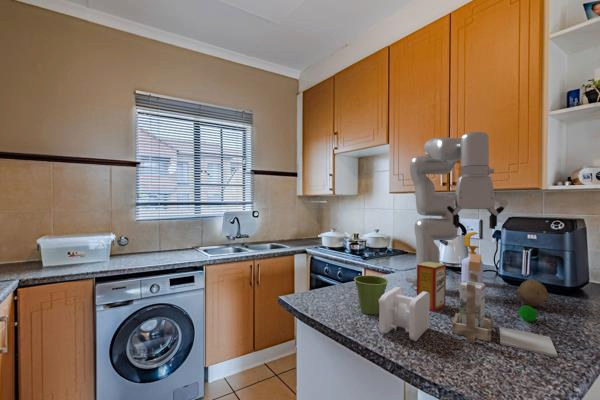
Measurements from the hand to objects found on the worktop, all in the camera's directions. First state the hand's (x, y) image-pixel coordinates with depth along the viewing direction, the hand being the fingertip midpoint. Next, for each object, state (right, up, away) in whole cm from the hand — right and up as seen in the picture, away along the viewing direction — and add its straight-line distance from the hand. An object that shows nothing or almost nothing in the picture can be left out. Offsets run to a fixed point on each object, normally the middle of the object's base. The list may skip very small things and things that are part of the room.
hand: (474, 228), depth 91 cm
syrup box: (-2, -31, -2) cm, 31 cm away
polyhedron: (+22, -32, +7) cm, 39 cm away
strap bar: (+8, -15, +13) cm, 21 cm away
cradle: (-2, -31, -2) cm, 31 cm away
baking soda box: (-5, -31, +19) cm, 37 cm away
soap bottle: (+29, -32, +52) cm, 67 cm away
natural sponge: (+34, -32, +20) cm, 51 cm away
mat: (+10, -31, -8) cm, 34 cm away
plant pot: (-29, -31, +13) cm, 44 cm away
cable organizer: (-23, -31, -3) cm, 38 cm away
